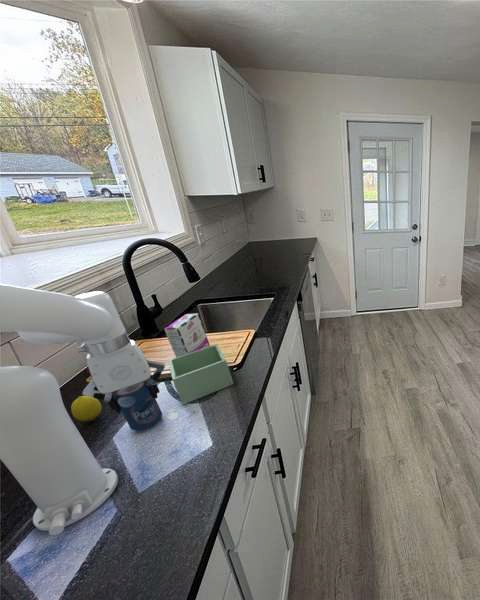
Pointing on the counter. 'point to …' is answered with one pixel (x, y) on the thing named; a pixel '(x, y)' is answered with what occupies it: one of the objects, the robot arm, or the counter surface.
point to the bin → (200, 373)
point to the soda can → (139, 406)
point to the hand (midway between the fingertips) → (137, 402)
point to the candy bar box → (187, 335)
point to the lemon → (86, 408)
